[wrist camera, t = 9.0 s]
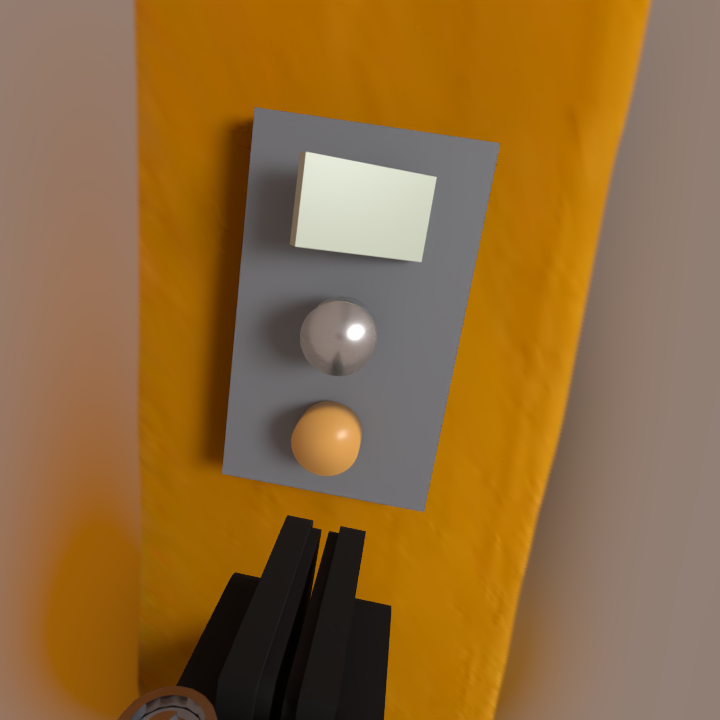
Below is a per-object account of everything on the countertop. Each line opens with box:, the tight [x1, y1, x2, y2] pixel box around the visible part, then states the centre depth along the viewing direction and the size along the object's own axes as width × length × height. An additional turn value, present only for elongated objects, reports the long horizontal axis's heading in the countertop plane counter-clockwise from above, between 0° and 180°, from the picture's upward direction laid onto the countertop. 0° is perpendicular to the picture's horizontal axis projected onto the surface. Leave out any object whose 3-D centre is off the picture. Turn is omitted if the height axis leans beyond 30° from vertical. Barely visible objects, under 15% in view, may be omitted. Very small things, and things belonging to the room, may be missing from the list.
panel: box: [222, 107, 500, 512], centre depth 29 cm, size 20×12×4 cm, turn 172°
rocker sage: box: [290, 152, 437, 262], centre depth 25 cm, size 4×6×1 cm, turn 81°
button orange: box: [291, 401, 362, 476], centre depth 29 cm, size 4×4×2 cm
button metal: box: [300, 296, 378, 376], centre depth 26 cm, size 4×4×2 cm
